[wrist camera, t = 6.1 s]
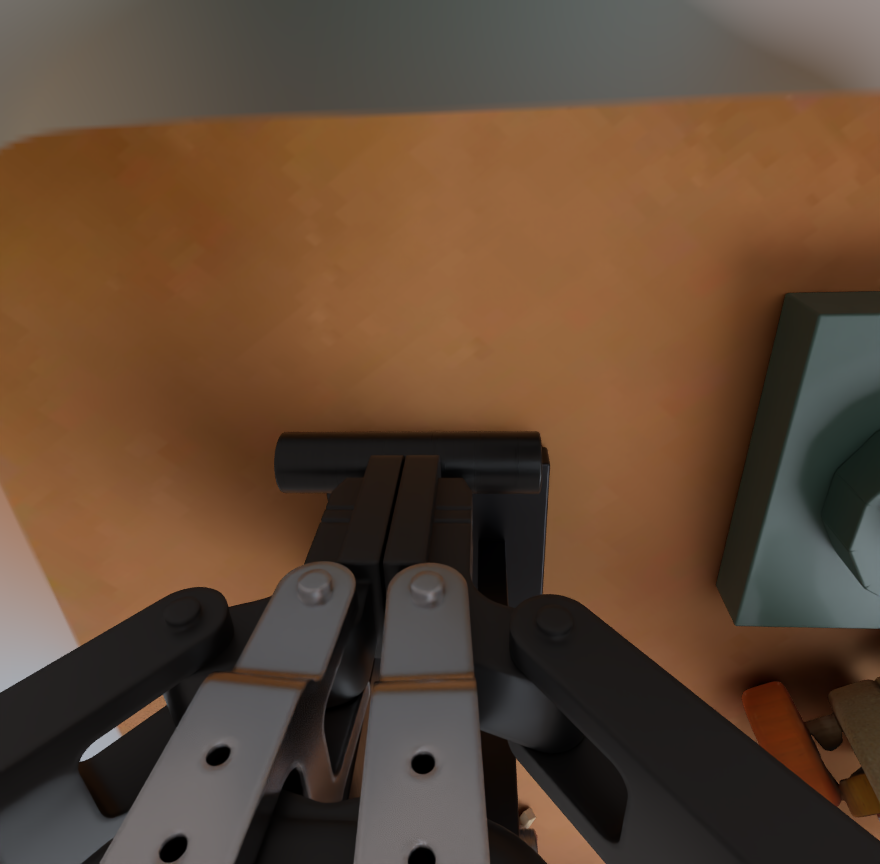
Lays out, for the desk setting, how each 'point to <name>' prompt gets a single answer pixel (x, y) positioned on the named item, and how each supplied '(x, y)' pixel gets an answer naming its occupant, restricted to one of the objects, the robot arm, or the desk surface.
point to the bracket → (505, 582)
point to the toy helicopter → (823, 739)
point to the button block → (812, 474)
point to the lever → (461, 454)
